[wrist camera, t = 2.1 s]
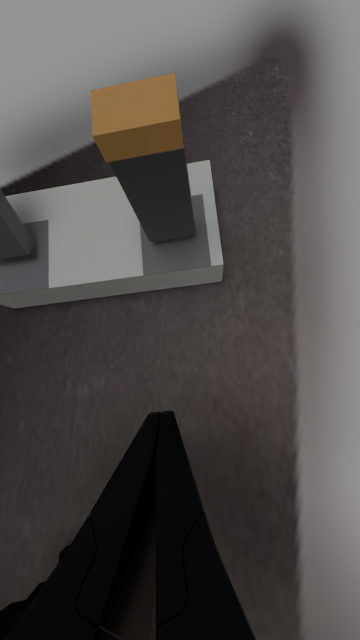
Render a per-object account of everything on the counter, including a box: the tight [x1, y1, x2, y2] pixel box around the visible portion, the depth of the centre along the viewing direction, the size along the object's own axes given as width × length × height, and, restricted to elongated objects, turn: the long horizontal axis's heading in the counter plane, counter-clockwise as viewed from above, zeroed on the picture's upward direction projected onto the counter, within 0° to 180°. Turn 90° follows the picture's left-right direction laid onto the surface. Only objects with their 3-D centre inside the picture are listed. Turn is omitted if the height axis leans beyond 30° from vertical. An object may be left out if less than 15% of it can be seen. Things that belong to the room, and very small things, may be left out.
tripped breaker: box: [91, 73, 196, 242], centre depth 15 cm, size 2×4×10 cm, turn 96°
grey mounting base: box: [0, 160, 223, 309], centre depth 24 cm, size 9×20×4 cm, turn 95°
